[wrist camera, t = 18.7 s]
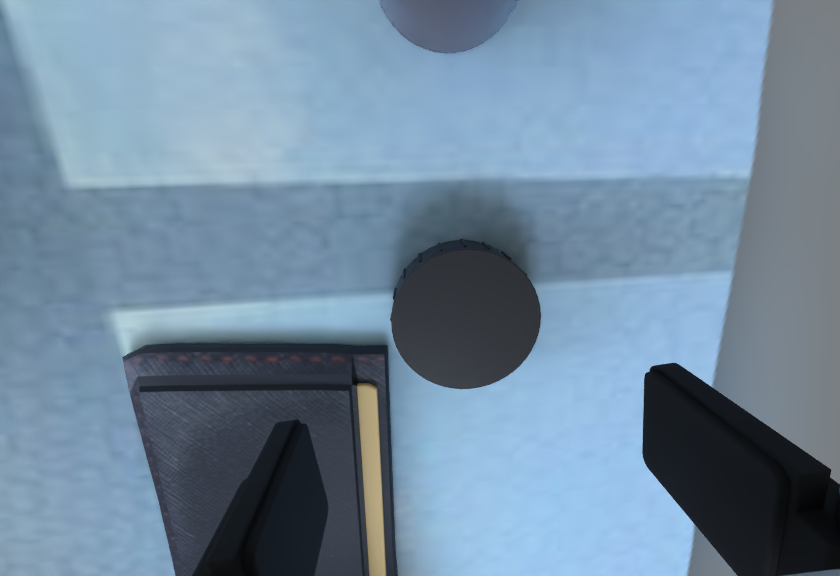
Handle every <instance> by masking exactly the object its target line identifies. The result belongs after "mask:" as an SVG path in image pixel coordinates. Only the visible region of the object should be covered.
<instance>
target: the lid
mask: <svg viewBox="0 0 840 576" xmlns="http://www.w3.org/2000/svg"><path fill="white" fill-rule="evenodd" d="M393 299H394V303H393V308H392V313H391V319H390V320H391V324H392V333H393V338H394V341H395V344H396V347H397V349H398V351H399V353H400V355H401V356H402V358H403V359H404V361H405V362H406V363H407V364H408V365H409V366H410V367H411V369H412V370H414V371H415V372H416V373H417V374H419V375H420V376H422V377H423V378H425V379H426V380H428V381H430V382H432V383H435V384H438V385H441V386H444V387H449V388H456V389H472V388H478V387H483V386H486V385H490V384H492V383H494V382H497V381H499V380H501V379H503V378H504V377H506V376H508V375H509V374H510V373H512V372H513V371H514V370H515V369H517V368H518V367H519V366H520V365H521V364H522V363H523V361H524V360H525V359H526V358H527V356H528V355H529V353H530V352H531V350H532V348H533V346H534V344H535V342H536V339H537V336H538V333H539V328H540V319H541V312H540V304H539V300H538V296H537V293H536V291H535V288H534V287H533V285H532V283H531V281H530V280H529V278H528V277H527V274H526V273H525V272H524V271H522V270H521V269H520V268H519V267H518V266H517V265H516V264H514V263H513V262H512V261H511V258H510V257H509V256H507V255H506V254H505V253H504V252H503V251H501V252H500V251H498V250H497V249H495V248H493V247H491V246H489V245H486V244H485V243H484V242H482V243H480V242H475V241H467V240H462V239H460V240H457V241H450V242H445V243H442V244H440V243H438V245H436V246H434V247H432V248H429V249H428V250H426V251H424V252H423V253H419V256H418V257H416V258H415V259H414V260H413V261H412V262H411V263H410V264H409V265H408V267H407V268H406V269H404V271H403V274H402V276H401V278H400V280H399V282H398V285H397V288H396V287H395V290H394V296H393Z"/></svg>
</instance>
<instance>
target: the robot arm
mask: <svg viewBox="0 0 840 576" xmlns="http://www.w3.org/2000/svg"><path fill="white" fill-rule="evenodd" d="M643 459H644V461H645V464H646V466H647V467H648V469H649V470H650V471H651V472H652V473H653V475H654V476H655V477H656V478H657V479H658V481H659V482H660V483H661V484H662V485H663V487H664V488H665V489H666V490H667V491H668V493H669V494H670V495H671V496H672V497H673V499H674V500H675V501H676V502H677V503H678V505H679V506H680V507H681V508H682V509H683V511H684V512H685V513H686V514H687V515H688V517H689V518H690V519H691V520H692V521H693V523H694V524H695V525H696V526H697V527H698V529H699V530H700V531H701V532H702V534H704V536H705V537H706V538H707V539H708V541H709V542H710V543H711V544H712V546H713V547H714V548H715V549H716V550H717V551H718V553H719V554H720V555H721V556H722V558H723V559H724V560H725V561H726V562H727V564H728V565H729V566H730V567H731V568H732V570H733V571H734V572H735V573H736V574H737V575H738V576H840V484H838V483H837V482H835V481H834V480H833V479H831V478H830V474H831V469H829V468H828V467H826V466H825V465H823V464H822V463H821V462H819V461H818V460H816V459H815V458H813V457H812V456H811V455H809V454H808V453H806V452H805V451H803V450H802V449H800V448H799V447H798V446H796V445H795V444H793V443H792V442H790V441H789V440H787V439H786V438H784V437H783V436H781V435H780V434H779V433H777V432H776V431H774V430H773V429H771V428H770V427H769V426H767V425H766V424H764V423H763V422H761V421H760V420H758V419H757V418H755V417H754V416H753V415H751V414H750V413H748V412H747V411H745V410H744V409H742V408H741V407H740V406H738V405H737V404H735V403H734V402H732V401H731V400H729V399H728V398H727V397H725V396H724V395H722V394H721V393H719V392H718V391H716V390H715V389H714V388H712V387H711V386H709V385H708V384H706V383H705V382H703V381H702V380H701V379H699V378H698V377H696V376H695V375H693V374H692V373H690V372H689V371H687V370H686V369H685V368H683V367H682V366H680V365H679V364H677V363H669V364H662V365H656V366H652V367H651V369H650V372H647V373H646V374H645V378H644V415H643ZM327 517H328V500H327V496H326V492H325V488H324V485H323V481H322V477H321V473H320V470H319V466H318V462H317V458H316V455H315V451H314V447H313V444H312V440H311V436H310V432H309V429H308V426H307V424H301V422H300V421H299V420H298V419H294V420H288V421H281V422H277V423H276V424H275V425H274V427H273V429H272V431H271V433H270V435H269V437H268V439H267V441H266V443H265V445H264V447H263V449H262V451H261V452H260V454H259V456H258V458H257V460H256V462H255V464H254V466H253V468H252V470H251V472H250V474H249V476H248V478H246V479H244V480H243V481H242V483H241V484H240V486H239V488H238V490H237V491H236V493H235V495H234V497H233V499H232V501H231V503H230V505H229V507H228V509H227V510H226V512H225V514H224V516H223V518H222V520H221V522H220V524H219V526H218V527H217V529H216V531H215V533H214V535H213V537H212V539H211V541H210V543H209V545H208V546H207V548H206V550H205V552H204V554H203V556H202V558H201V560H200V562H199V563H198V565H197V567H196V569H195V571H194V573H193V575H192V576H315V571H316V567H317V562H318V558H319V553H320V549H321V544H322V540H323V535H324V531H325V526H326V522H327Z"/></svg>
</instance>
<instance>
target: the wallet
mask: <svg viewBox="0 0 840 576" xmlns="http://www.w3.org/2000/svg"><path fill="white" fill-rule="evenodd" d="M122 358H123V363H124V368H125V373H126V377H127V382H128V387H129V391H130V395H131V399H132V403H133V407H134V411H135V415H136V419H137V423H138V426H139V430H140V434H141V437H142V441H143V445H144V448H145V452H146V456H147V460H148V463H149V467H150V471H151V474H152V478H153V482H154V485H155V489H156V493H157V496H158V501H159V505H160V509H161V513H162V518H163V522H164V526H165V531H166V535H167V539H168V543H169V548H170V552H171V556H172V561H173V565H174V570H175V575H176V576H192V575H193V573H194V571H195V569H196V567H197V565H198V563H199V562H200V560H201V558H202V556H203V554H204V552H205V550H206V548H207V546H208V545H209V543H210V541H211V539H212V537H213V535H214V533H215V531H216V529H217V527H218V526H219V524H220V522H221V520H222V518H223V516H224V514H225V512H226V510H227V509H228V507H229V505H230V503H231V501H232V499H233V497H234V495H235V493H236V491H237V490H238V488H239V486H240V484H241V483H242V481H243V480H244V479H246V478H248V476H249V474H250V472H251V470H252V468H253V466H254V464H255V462H256V460H257V458H258V456H259V454H260V452H261V451H262V449H263V447H264V445H265V443H266V441H267V439H268V437H269V435H270V433H271V431H272V429H273V427H274V425H275V424H276V423H277V422H281V421H288V420H294V419H298V420H299V421H300V422H301V424H307V426H308V429H309V432H310V436H311V440H312V444H313V447H314V451H315V455H316V458H317V462H318V466H319V470H320V473H321V477H322V481H323V485H324V488H325V492H326V496H327V500H328V517H327V522H326V526H325V531H324V535H323V540H322V544H321V549H320V553H319V558H318V562H317V567H316V571H315V576H398V573H397V562H396V551H395V528H394V503H393V478H392V452H391V427H390V401H389V375H388V348H387V346H350V345H337V344H160V345H146V346H143V347H141V348H139V349H137V350H135V351H133V352H131V353H129V354H127V355H126V356H124V357H122Z"/></svg>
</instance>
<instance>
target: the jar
mask: <svg viewBox="0 0 840 576" xmlns="http://www.w3.org/2000/svg"><path fill="white" fill-rule="evenodd" d="M378 1H379V3H380V5H381V8H382V10H383V11H384V13H385V15H386V17H387V18H388V20H389V21H390V22H391V24H392V25H393V26H394V28H395V29H396V30H397V31H398V32H399V33H400V34H401V35H402V36H404V37H405V38H406V39H407V40H409V41H410V42H412V43H414V44H415V45H417V46H419V47H421V48H424V49H426V50H430V51H433V52H439V53H456V52H462V51H466V50H469V49H472V48H474V47H476V46H478V45H480V44H482V43H484V42H485V41H487V40H488V39H489V38H491V37H492V36H493V35H494V34H495V33H496V32H498V31H499V29H500V28H501V27H502V26H503V25H504V24H505V22H506V21H507V20H508V18H509V17H510V15H511V14H512V12H513V10H514V9H515V7H516V5H517V4H518V2H519V0H378Z"/></svg>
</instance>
